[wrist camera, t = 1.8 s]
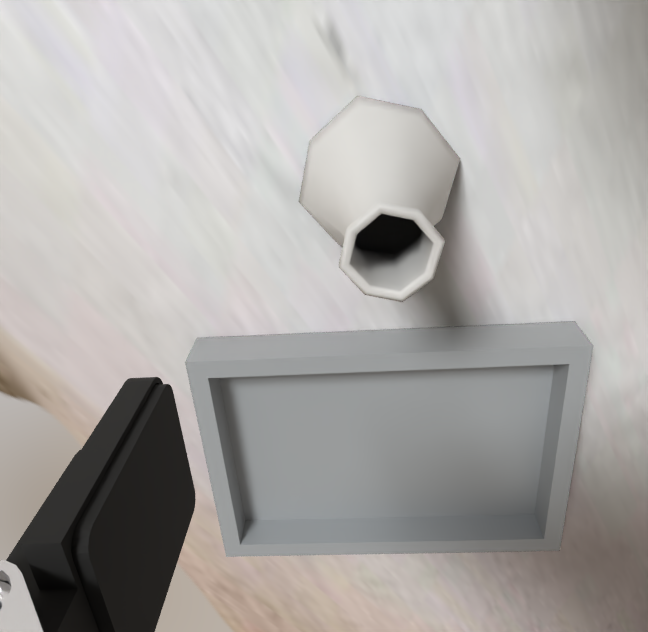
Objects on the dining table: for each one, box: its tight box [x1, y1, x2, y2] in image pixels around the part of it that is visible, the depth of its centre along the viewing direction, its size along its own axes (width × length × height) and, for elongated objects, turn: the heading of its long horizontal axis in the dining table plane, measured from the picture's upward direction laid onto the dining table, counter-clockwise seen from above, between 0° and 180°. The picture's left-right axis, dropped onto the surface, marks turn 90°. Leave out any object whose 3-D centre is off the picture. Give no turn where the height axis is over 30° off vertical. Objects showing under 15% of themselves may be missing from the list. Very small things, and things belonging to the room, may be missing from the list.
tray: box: [185, 321, 593, 557], centre depth 32 cm, size 14×20×2 cm
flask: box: [299, 96, 460, 302], centre depth 22 cm, size 7×7×10 cm
